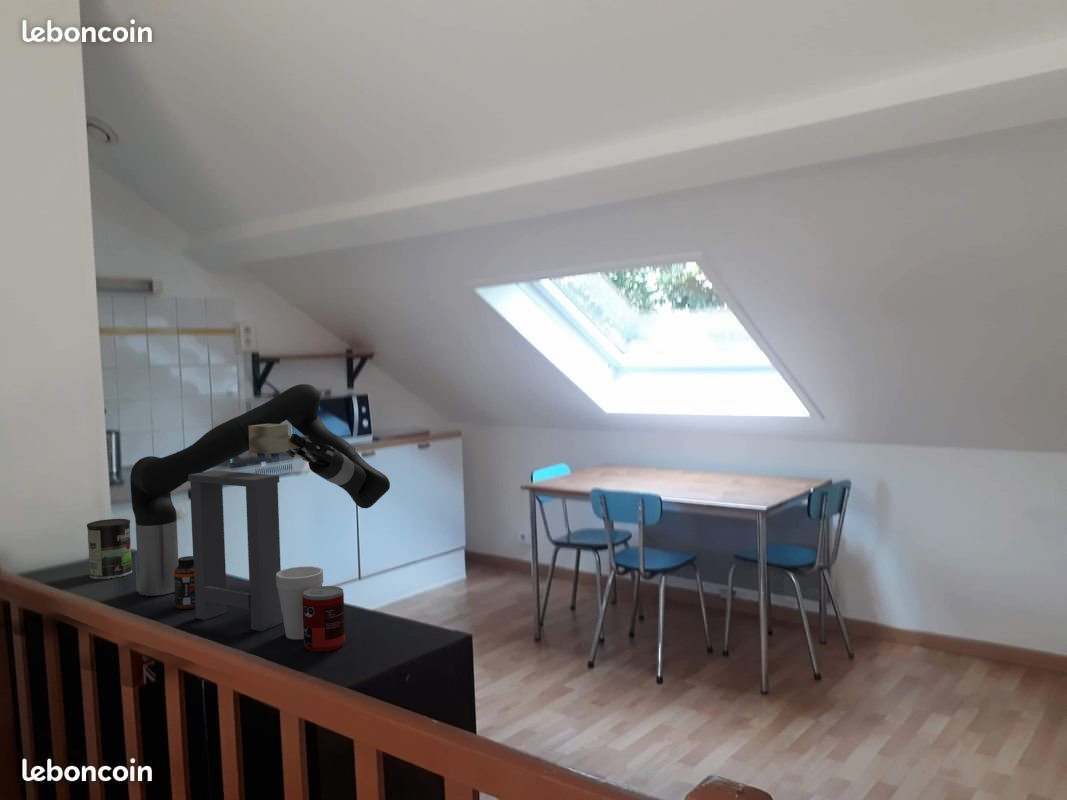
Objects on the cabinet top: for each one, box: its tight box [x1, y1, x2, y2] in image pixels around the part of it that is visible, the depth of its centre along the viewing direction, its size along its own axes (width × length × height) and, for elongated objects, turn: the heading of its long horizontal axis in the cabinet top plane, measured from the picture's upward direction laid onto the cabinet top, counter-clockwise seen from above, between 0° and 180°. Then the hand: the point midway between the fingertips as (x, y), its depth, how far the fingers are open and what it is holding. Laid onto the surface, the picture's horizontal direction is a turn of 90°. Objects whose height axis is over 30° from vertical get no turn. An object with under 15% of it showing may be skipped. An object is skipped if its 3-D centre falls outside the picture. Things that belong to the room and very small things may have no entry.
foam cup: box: [276, 565, 324, 640], centre depth 173 cm, size 10×9×13 cm
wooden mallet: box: [248, 423, 310, 455], centre depth 193 cm, size 6×14×6 cm, turn 151°
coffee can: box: [86, 518, 133, 580], centre depth 223 cm, size 10×10×14 cm
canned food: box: [302, 585, 346, 652], centre depth 166 cm, size 8×8×11 cm
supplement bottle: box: [174, 555, 196, 610], centre depth 194 cm, size 6×6×11 cm
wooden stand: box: [187, 470, 284, 632], centre depth 182 cm, size 20×7×32 cm, turn 61°
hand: (286, 437), depth 195 cm, fingers closed on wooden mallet, 3 cm apart
